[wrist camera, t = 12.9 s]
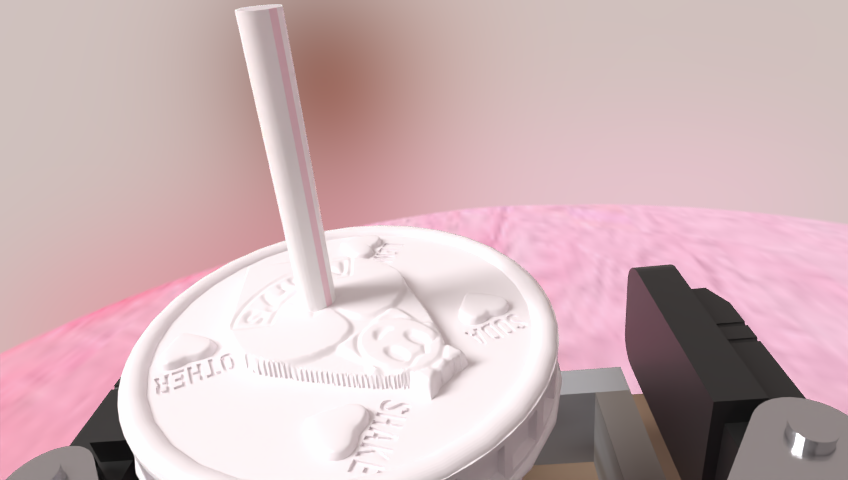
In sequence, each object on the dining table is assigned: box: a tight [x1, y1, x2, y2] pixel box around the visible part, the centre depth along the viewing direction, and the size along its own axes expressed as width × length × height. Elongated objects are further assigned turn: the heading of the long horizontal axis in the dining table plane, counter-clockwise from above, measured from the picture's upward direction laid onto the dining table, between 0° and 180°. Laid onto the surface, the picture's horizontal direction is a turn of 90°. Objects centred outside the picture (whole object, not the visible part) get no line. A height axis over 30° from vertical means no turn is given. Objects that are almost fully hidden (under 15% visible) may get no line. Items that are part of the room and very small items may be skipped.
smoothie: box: [118, 5, 562, 480], centre depth 10 cm, size 6×6×14 cm
